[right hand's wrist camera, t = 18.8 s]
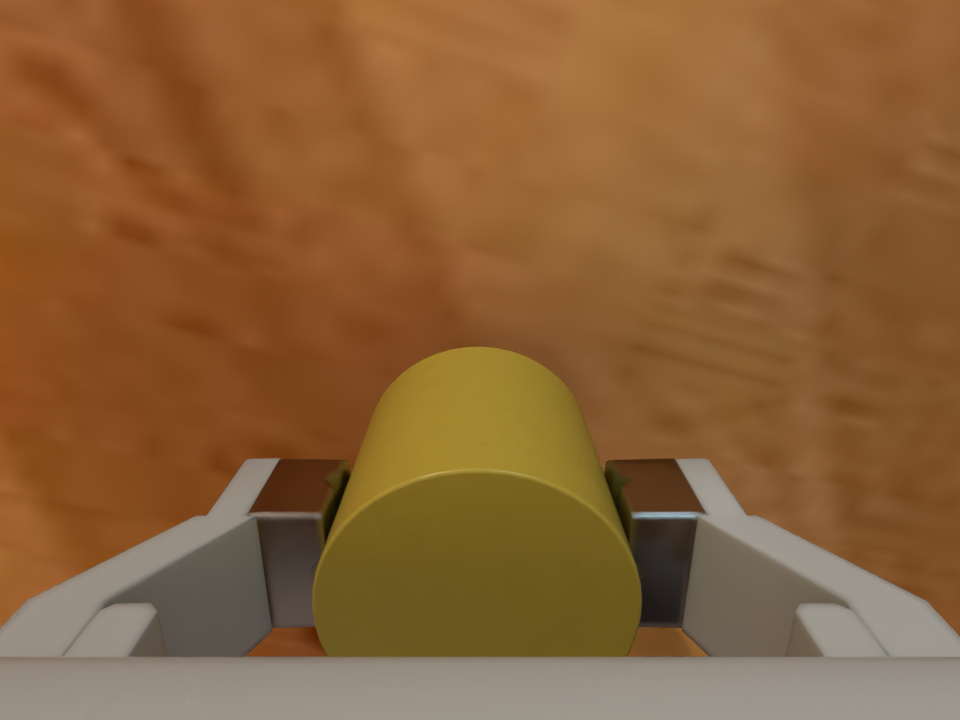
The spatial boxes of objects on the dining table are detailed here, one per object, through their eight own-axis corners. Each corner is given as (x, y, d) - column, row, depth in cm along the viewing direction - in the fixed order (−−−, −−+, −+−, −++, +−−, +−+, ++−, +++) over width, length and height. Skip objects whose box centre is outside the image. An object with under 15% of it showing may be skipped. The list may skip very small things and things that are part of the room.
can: (419, 308, 11) (385, 415, 7) (628, 401, 11) (707, 547, 7) (335, 495, 12) (266, 675, 8) (527, 570, 13) (549, 772, 9)
